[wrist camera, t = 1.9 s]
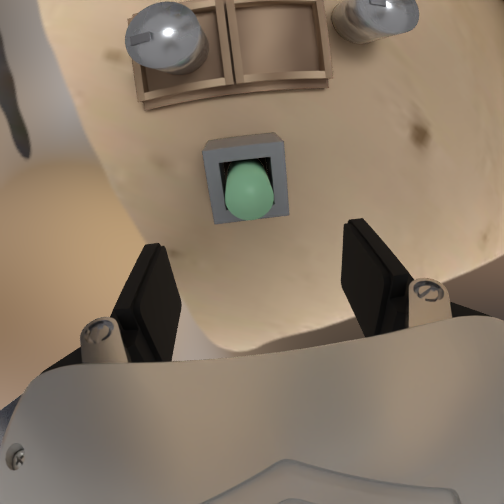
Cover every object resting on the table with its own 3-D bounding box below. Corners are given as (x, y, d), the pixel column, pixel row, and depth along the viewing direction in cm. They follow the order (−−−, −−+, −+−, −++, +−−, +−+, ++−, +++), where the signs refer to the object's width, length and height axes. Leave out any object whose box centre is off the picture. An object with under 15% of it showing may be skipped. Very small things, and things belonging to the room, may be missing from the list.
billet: (374, 4, 18) (414, -15, 11) (380, 46, 20) (424, 37, 13) (328, -1, 18) (359, -28, 11) (334, 42, 20) (369, 27, 14)
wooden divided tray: (313, -5, 17) (320, -13, 15) (325, 88, 22) (333, 87, 20) (136, 17, 18) (126, 10, 15) (148, 109, 22) (139, 111, 20)
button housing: (274, 132, 24) (283, 141, 19) (280, 193, 27) (289, 215, 22) (208, 140, 24) (202, 151, 20) (217, 201, 27) (214, 224, 22)
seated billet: (206, 21, 18) (194, -7, 12) (212, 69, 20) (202, 58, 14) (152, 32, 18) (121, 12, 12) (158, 80, 20) (128, 76, 14)
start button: (262, 153, 23) (271, 172, 18) (266, 188, 24) (275, 217, 19) (224, 157, 23) (221, 178, 18) (230, 192, 24) (228, 223, 19)
